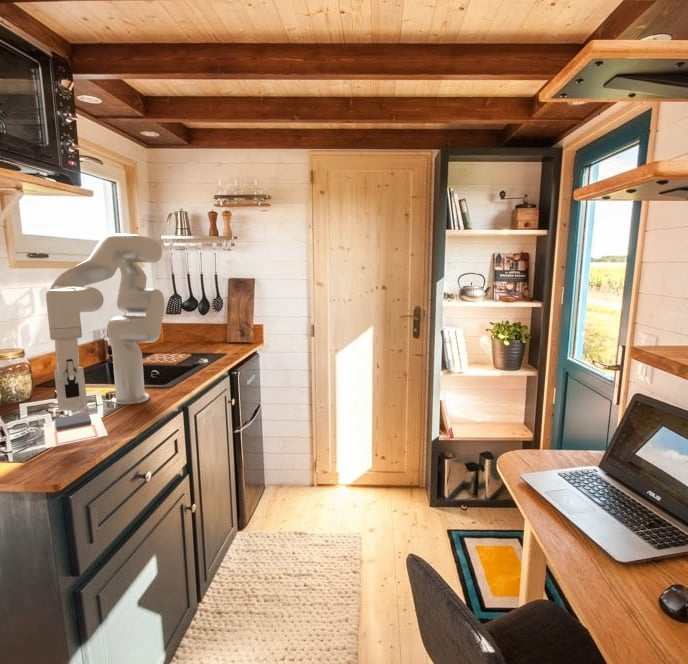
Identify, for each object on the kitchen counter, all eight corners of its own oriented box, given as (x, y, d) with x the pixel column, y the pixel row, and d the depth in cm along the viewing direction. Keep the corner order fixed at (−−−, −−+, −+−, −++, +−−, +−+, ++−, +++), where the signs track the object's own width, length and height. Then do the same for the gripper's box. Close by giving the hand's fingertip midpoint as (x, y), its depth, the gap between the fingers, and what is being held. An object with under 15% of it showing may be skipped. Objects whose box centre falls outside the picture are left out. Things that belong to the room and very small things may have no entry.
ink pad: (55, 422, 130) (54, 418, 130) (88, 416, 136) (88, 412, 135) (56, 430, 124) (56, 426, 124) (91, 424, 129) (91, 420, 129)
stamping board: (43, 425, 129) (43, 422, 129) (98, 415, 138) (98, 413, 138) (45, 450, 113) (45, 447, 113) (108, 437, 122) (108, 434, 122)
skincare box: (88, 405, 123) (84, 366, 120) (79, 410, 118) (75, 370, 116) (67, 405, 122) (62, 366, 120) (57, 410, 118) (53, 370, 116)
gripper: (48, 329, 121) (54, 388, 124) (50, 339, 108) (57, 404, 111) (78, 327, 126) (83, 384, 129) (84, 336, 112) (90, 399, 115)
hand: (71, 393), depth 120 cm, fingers closed on skincare box, 6 cm apart
